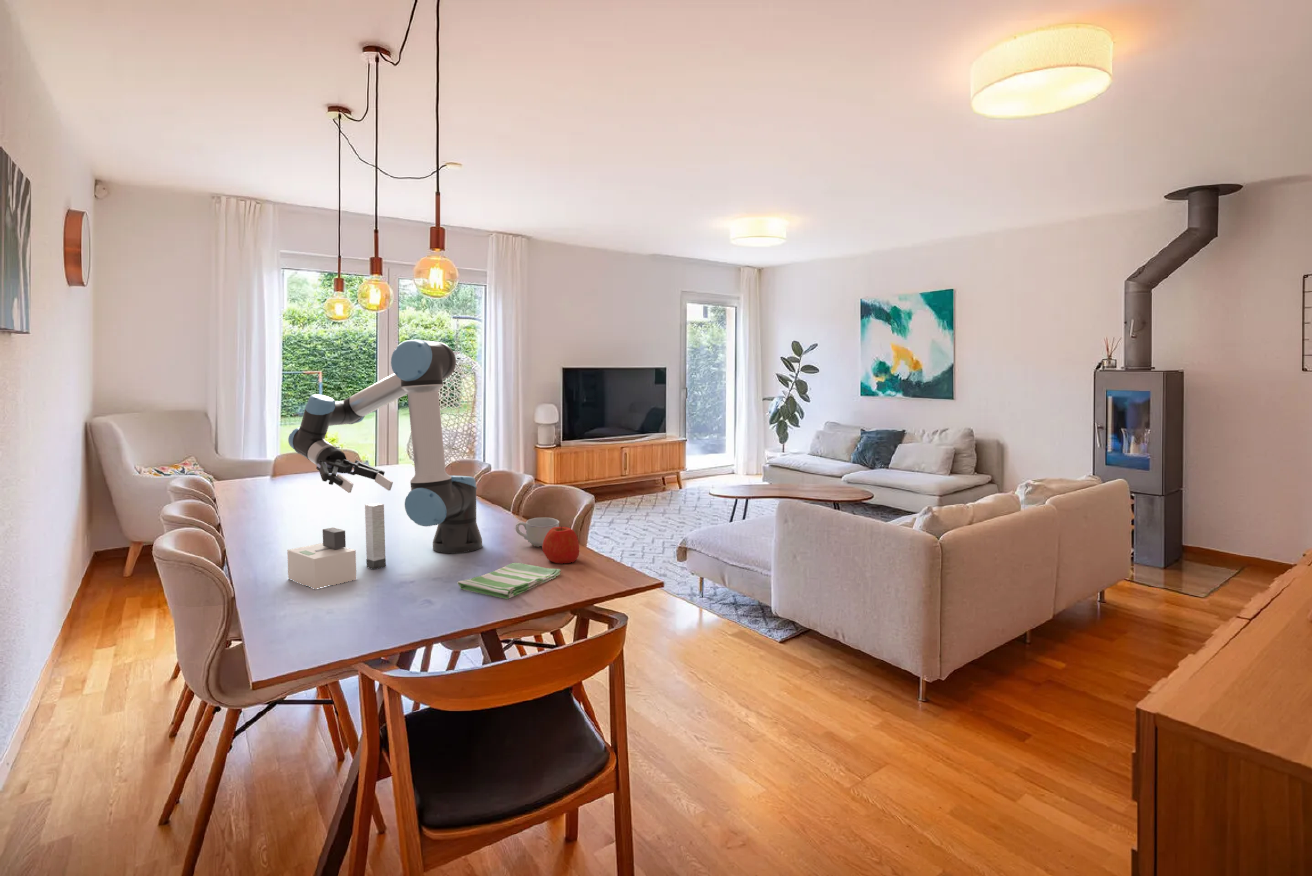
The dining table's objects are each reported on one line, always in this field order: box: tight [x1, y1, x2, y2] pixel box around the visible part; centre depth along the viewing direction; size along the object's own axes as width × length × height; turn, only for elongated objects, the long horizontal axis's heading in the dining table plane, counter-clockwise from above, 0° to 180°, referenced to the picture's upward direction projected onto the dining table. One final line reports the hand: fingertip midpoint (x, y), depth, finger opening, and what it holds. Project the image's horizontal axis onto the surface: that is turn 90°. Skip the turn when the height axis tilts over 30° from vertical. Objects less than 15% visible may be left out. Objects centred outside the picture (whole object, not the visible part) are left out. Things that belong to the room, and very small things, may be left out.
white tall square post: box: [364, 502, 387, 570], centre depth 191 cm, size 4×4×18 cm
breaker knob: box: [322, 527, 347, 549], centre depth 182 cm, size 3×6×4 cm, turn 54°
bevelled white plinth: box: [287, 542, 357, 590], centre depth 179 cm, size 11×14×8 cm
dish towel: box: [456, 562, 562, 600], centre depth 180 cm, size 18×23×3 cm
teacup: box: [515, 517, 560, 547], centre depth 219 cm, size 14×11×8 cm
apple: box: [541, 526, 580, 565], centre depth 200 cm, size 11×11×11 cm
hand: (371, 487), depth 195 cm, fingers open, 13 cm apart
